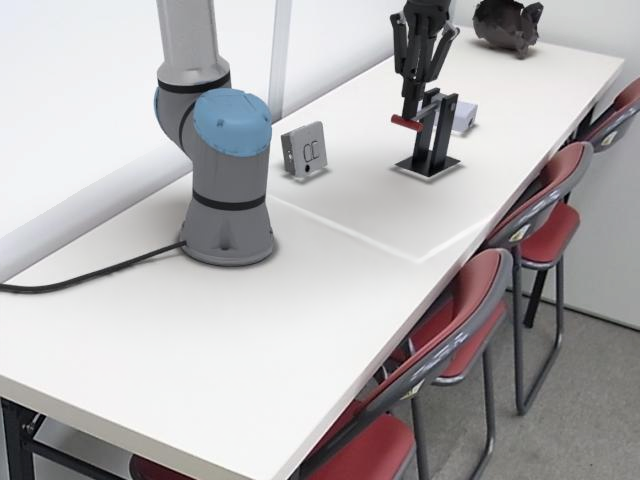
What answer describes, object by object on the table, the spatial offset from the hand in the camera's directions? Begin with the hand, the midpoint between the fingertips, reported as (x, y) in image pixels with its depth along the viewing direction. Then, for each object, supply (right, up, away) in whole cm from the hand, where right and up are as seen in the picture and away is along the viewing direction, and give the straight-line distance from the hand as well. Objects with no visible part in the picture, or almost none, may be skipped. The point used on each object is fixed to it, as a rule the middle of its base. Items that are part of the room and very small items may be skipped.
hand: (408, 117), depth 165 cm
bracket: (+6, -5, +14) cm, 17 cm away
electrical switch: (-19, -8, +9) cm, 22 cm away
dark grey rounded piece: (+39, +45, +85) cm, 104 cm away
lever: (+4, +1, +4) cm, 6 cm away
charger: (+12, +10, +35) cm, 38 cm away
